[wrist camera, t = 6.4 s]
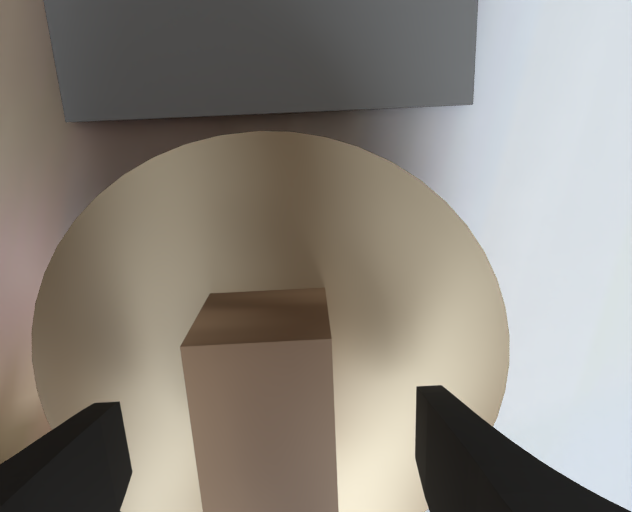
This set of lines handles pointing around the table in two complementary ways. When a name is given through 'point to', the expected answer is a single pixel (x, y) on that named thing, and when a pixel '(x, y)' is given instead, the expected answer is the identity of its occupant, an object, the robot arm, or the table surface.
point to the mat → (259, 56)
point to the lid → (269, 324)
